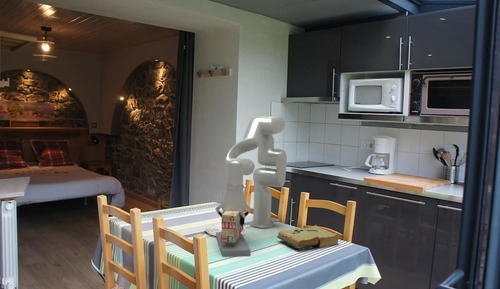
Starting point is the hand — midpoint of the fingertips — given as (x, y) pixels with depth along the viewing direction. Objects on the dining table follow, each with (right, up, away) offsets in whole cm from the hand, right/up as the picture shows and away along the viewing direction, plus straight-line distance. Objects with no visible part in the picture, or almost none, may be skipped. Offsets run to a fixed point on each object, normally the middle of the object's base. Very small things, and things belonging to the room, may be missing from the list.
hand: (232, 225), depth 173 cm
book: (+35, -11, +9) cm, 38 cm away
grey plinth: (0, -9, +1) cm, 9 cm away
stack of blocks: (0, -5, +1) cm, 5 cm away
